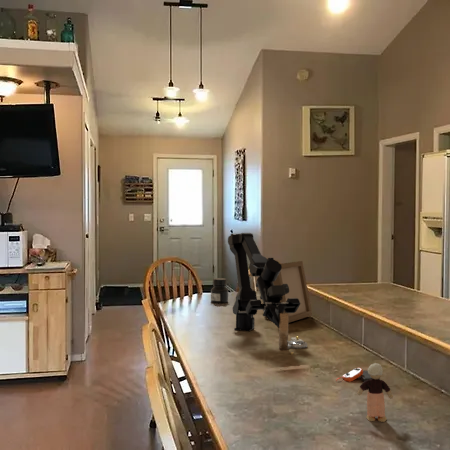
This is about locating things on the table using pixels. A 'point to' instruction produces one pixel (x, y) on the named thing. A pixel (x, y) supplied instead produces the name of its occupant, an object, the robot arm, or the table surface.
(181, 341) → the table surface
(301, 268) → the photo frame
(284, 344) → the brown cylinder with ball
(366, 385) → the grandmother figurine
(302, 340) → the stand plate
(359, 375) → the multimeter
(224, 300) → the ink bottle
